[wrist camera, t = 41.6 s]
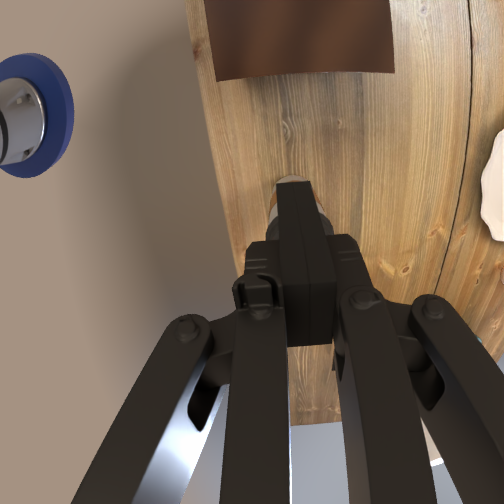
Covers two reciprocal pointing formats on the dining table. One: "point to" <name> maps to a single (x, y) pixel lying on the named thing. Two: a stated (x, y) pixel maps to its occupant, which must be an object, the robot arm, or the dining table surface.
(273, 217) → the coffee cup
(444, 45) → the dining table surface
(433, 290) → the dining table surface
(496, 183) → the plate
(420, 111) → the dining table surface
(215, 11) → the lid
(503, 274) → the garlic bulb
